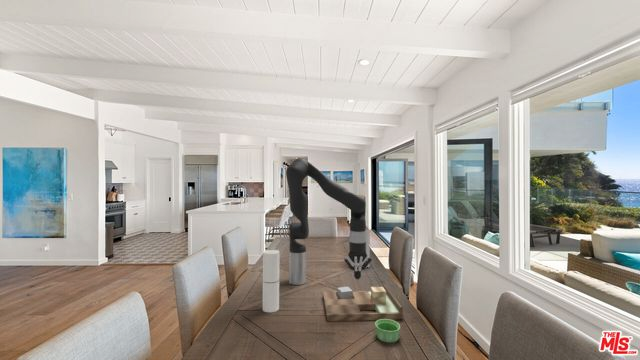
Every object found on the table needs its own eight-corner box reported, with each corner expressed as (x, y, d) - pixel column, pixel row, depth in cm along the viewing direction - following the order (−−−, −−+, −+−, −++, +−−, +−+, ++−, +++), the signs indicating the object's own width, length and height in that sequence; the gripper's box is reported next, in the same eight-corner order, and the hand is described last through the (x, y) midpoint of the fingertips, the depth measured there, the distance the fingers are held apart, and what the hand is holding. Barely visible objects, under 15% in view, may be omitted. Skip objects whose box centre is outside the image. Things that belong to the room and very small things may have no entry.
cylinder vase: (370, 269, 179) (371, 230, 179) (351, 269, 179) (351, 230, 179) (367, 263, 191) (368, 227, 192) (349, 263, 191) (350, 227, 192)
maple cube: (373, 304, 122) (373, 291, 122) (370, 298, 127) (370, 286, 127) (386, 304, 122) (386, 291, 122) (382, 298, 128) (382, 286, 128)
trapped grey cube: (341, 304, 128) (341, 292, 128) (337, 299, 133) (337, 287, 133) (352, 302, 129) (352, 290, 130) (347, 297, 135) (347, 286, 135)
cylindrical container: (265, 313, 117) (265, 254, 118) (260, 307, 124) (261, 250, 124) (281, 310, 121) (281, 252, 121) (275, 303, 127) (276, 249, 127)
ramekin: (383, 327, 107) (383, 316, 107) (404, 337, 101) (405, 324, 101) (369, 336, 101) (370, 324, 101) (391, 347, 95) (391, 334, 95)
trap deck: (327, 321, 112) (327, 308, 112) (323, 296, 136) (323, 286, 136) (402, 319, 113) (402, 307, 114) (385, 295, 137) (385, 285, 137)
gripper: (344, 242, 121) (344, 282, 121) (374, 242, 122) (374, 281, 122) (341, 238, 128) (341, 276, 128) (369, 238, 129) (369, 275, 129)
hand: (357, 278), depth 125 cm, fingers closed
